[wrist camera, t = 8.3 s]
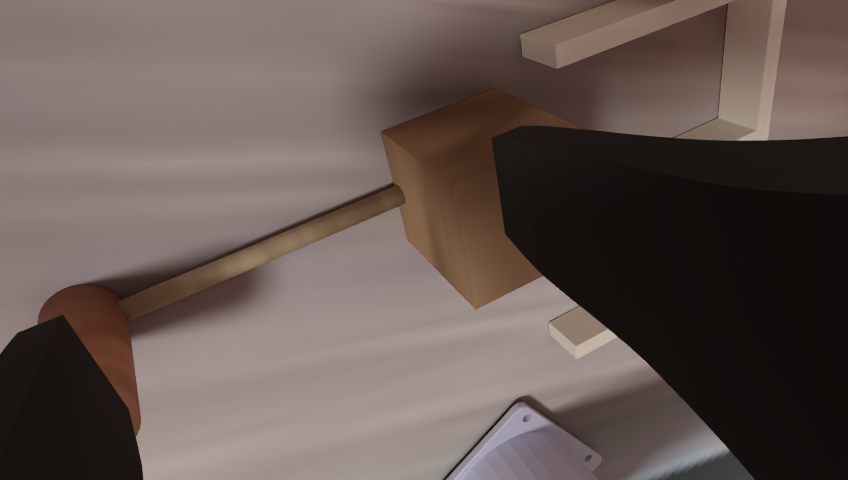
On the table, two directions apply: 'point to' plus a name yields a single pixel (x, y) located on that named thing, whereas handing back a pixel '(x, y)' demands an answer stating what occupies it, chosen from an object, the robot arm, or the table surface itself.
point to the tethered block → (413, 192)
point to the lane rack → (737, 121)
